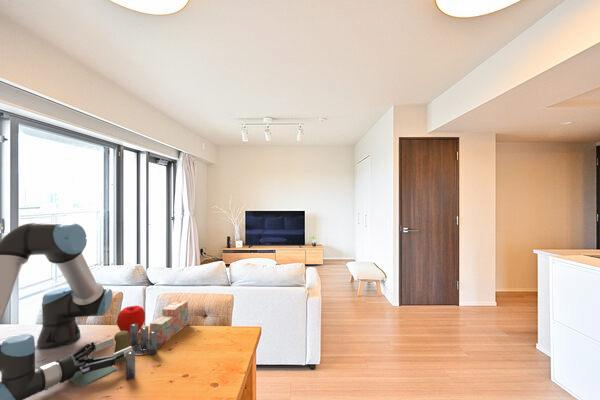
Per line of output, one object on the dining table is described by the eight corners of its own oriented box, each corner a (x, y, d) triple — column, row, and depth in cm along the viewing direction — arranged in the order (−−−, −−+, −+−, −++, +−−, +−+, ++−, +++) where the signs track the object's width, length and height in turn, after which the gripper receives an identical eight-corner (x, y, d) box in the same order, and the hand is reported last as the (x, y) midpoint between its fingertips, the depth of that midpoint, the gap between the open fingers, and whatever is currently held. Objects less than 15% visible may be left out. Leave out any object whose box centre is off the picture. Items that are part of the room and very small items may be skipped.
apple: (124, 343, 131) (124, 313, 131) (111, 336, 137) (111, 308, 137) (150, 332, 141) (150, 305, 141) (136, 327, 147) (136, 300, 147)
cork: (122, 364, 114) (122, 336, 114) (109, 362, 115) (109, 334, 115) (133, 356, 120) (133, 329, 120) (121, 354, 121) (121, 328, 121)
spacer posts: (93, 361, 116) (93, 338, 116) (136, 342, 132) (136, 322, 132) (128, 380, 104) (128, 355, 104) (172, 357, 119) (172, 335, 119)
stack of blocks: (162, 345, 130) (162, 317, 130) (149, 343, 131) (149, 316, 131) (188, 324, 151) (188, 300, 151) (176, 323, 152) (176, 300, 152)
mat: (59, 373, 108) (59, 372, 108) (95, 358, 119) (95, 357, 119) (80, 387, 100) (80, 386, 100) (116, 369, 110) (116, 368, 110)
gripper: (42, 371, 105) (105, 346, 124) (74, 396, 93) (139, 363, 111) (42, 351, 105) (105, 328, 124) (74, 372, 93) (139, 343, 111)
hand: (121, 345), depth 117 cm, fingers open, 13 cm apart
